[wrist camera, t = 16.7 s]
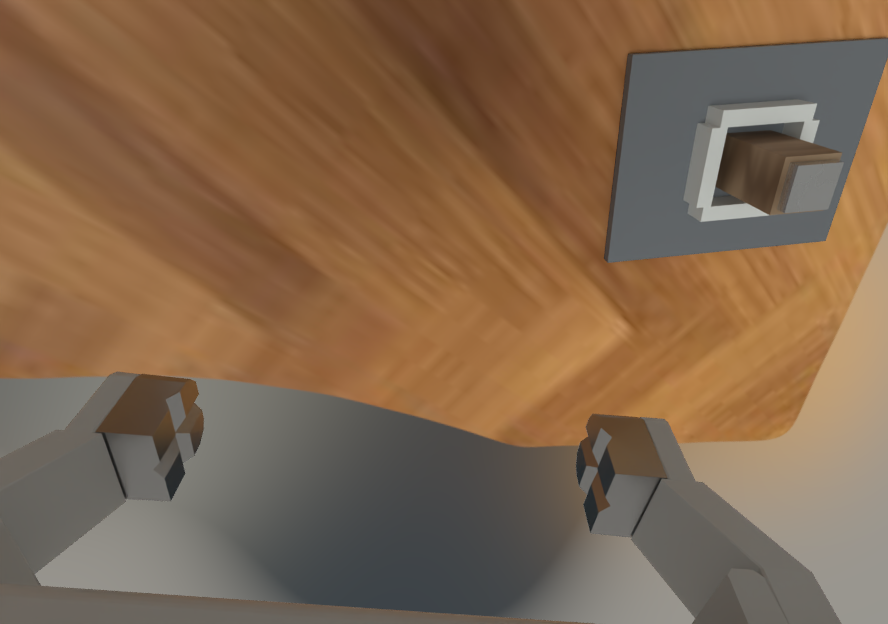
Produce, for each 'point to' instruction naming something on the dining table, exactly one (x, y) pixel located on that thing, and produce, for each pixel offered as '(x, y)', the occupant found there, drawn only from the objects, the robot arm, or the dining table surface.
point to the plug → (778, 172)
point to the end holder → (704, 132)
